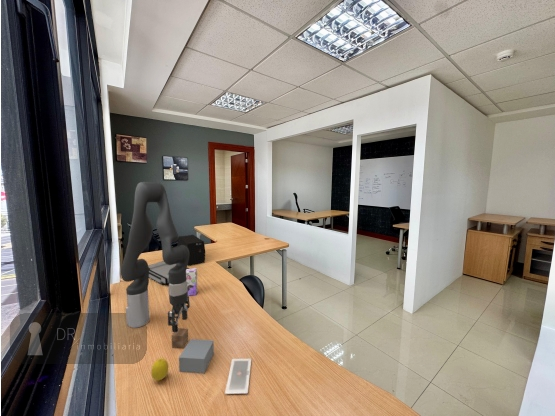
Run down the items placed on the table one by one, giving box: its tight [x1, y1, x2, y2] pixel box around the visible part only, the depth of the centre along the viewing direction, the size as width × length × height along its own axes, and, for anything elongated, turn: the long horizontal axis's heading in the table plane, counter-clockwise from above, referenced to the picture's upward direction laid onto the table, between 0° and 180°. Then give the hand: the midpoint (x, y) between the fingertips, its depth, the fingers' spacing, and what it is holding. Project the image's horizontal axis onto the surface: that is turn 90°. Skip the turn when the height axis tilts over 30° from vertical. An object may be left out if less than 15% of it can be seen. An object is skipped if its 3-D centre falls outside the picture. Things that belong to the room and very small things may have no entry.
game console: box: [148, 260, 191, 287], centre depth 168 cm, size 21×32×8 cm, turn 54°
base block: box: [178, 338, 215, 374], centre depth 89 cm, size 10×10×6 cm
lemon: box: [150, 358, 169, 381], centre depth 81 cm, size 6×6×8 cm
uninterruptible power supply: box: [176, 234, 206, 267], centre depth 206 cm, size 16×34×20 cm, turn 38°
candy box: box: [186, 267, 198, 297], centre depth 142 cm, size 14×6×16 cm, turn 105°
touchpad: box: [224, 358, 252, 395], centre depth 83 cm, size 8×15×2 cm, turn 2°
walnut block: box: [171, 327, 189, 350], centre depth 99 cm, size 5×5×6 cm
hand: (180, 325), depth 98 cm, fingers open, 8 cm apart
